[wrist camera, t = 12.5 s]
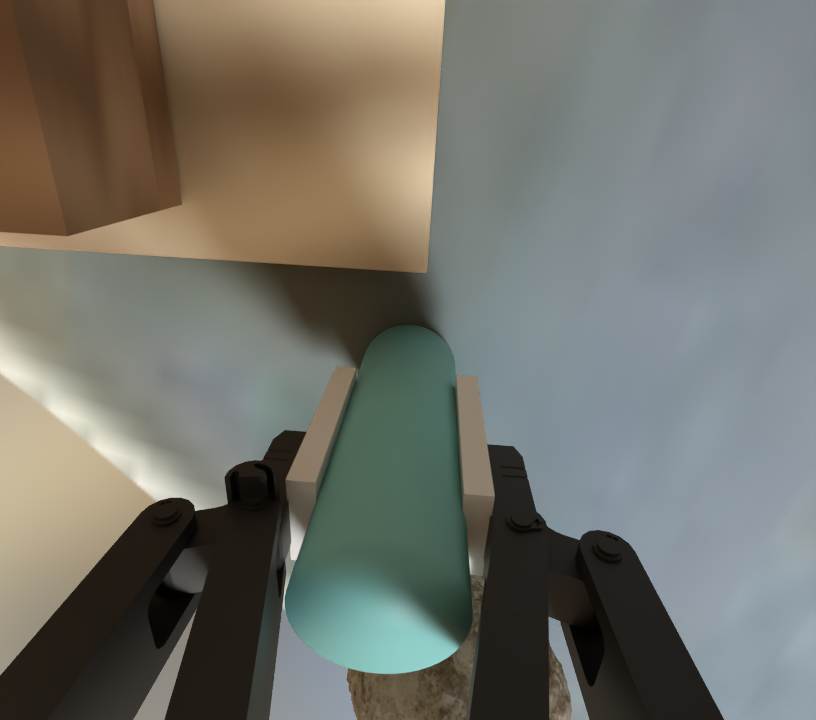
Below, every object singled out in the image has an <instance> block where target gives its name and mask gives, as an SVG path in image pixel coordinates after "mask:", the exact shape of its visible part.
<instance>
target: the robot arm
mask: <svg viewBox="0 0 816 720" xmlns="http://www.w3.org/2000/svg"><path fill="white" fill-rule="evenodd" d="M355 383H356V368H352V367H338V366H336V367H335V370H334V372H333V374H332V376H331V379H330V381H329V383H328V385H327V388H326V390H325V392H324V394H323V397H322V399H321V401H320V403H319V406H318V408H317V410H316V412H315V415H314V417H313V419H312V421H311V424H310V426H309V428H308V430H307V432H301V431H287V430H285V431H283V432H282V433H281V434H280V435H278V436H277V437H276V438H274V439H273V441H272V443H271V445H270V447H269V449H268V451H267V452H266V454H265V456H264V459H263V460H262V461H257V460H255V461H248V462H244V463H241V464H239V465H236V466H235V467H233V468H232V469H231V470H229V471H228V473H227V474H226V476H225V485H226V492H227V499H228V504H227V505H224V506H221V507H217V508H211V509H205V510H198V511H195V509H194V505H193V504H192V503H191V502H190V501H189V500H186V499H183V498H168V499H164V500H160V501H158V502H156V503H154V504H152V505H150V506H148V507H147V508H146V509H145V510H144V511H142V512H141V513H140V514H139V516H138V517H137V518H136V519H135V520H134V521H133V523H132V524H131V525H130V526H129V527H128V529H127V530H126V531H125V532H124V533H123V534H122V535H121V536H120V538H119V539H118V540H117V541H116V542H115V543H114V545H113V546H112V547H111V548H110V549H109V550H108V552H107V553H106V554H105V555H104V556H103V557H102V558H101V560H100V561H99V562H98V563H97V564H96V565H95V567H94V568H93V569H92V570H91V571H90V572H89V574H88V575H87V576H86V577H85V578H84V579H83V581H82V582H81V583H80V584H79V585H78V586H77V588H76V589H75V590H74V591H73V592H72V593H71V594H70V596H69V597H68V598H67V599H66V600H65V601H64V602H63V604H62V605H61V606H60V607H59V608H58V609H57V611H56V612H55V613H54V614H53V615H52V616H51V618H50V619H49V620H48V621H47V622H46V623H45V625H44V626H43V627H42V628H41V629H40V630H39V632H38V633H37V634H36V635H35V636H34V637H33V638H32V640H31V641H30V642H29V643H28V644H27V646H25V648H24V649H23V650H22V651H21V652H20V653H19V655H18V656H17V657H16V658H15V659H14V660H13V661H12V663H11V664H10V665H9V666H8V667H7V669H6V670H5V671H4V672H3V673H2V674H1V675H0V720H133V719H134V717H135V716H136V714H137V712H138V710H139V709H140V707H141V705H142V703H143V702H144V700H145V698H146V696H147V695H148V693H149V691H150V689H151V688H152V686H153V684H154V682H155V680H156V679H157V677H158V675H159V673H160V672H161V670H162V668H163V667H164V665H165V663H166V661H167V660H168V658H169V656H170V654H171V653H172V651H173V649H174V647H175V646H176V644H177V642H178V640H179V639H180V637H181V635H182V633H183V631H184V630H185V628H186V626H187V624H188V623H189V621H190V619H191V618H192V616H193V614H194V612H195V611H196V609H197V611H196V614H195V617H194V621H193V624H192V628H191V631H190V635H189V638H188V641H187V645H186V648H185V652H184V655H183V659H182V662H181V665H180V669H179V672H178V676H177V679H176V683H175V686H174V689H173V693H172V696H171V699H170V703H169V706H168V710H167V713H166V716H165V720H269V715H270V706H271V698H272V689H273V681H274V671H275V663H276V655H277V645H278V638H279V629H280V621H281V612H282V603H283V595H284V586H285V578H286V566H285V559H286V556H287V553H288V551H289V548H290V552H291V560H297V557H298V554H299V551H300V548H301V545H302V542H303V539H304V536H305V533H306V530H307V527H308V524H309V521H310V518H311V515H312V511H313V508H314V506H315V503H316V501H317V498H318V495H319V492H320V489H321V486H322V483H323V480H324V477H325V474H326V471H327V468H328V465H329V462H330V459H331V456H332V453H333V449H334V446H335V443H336V440H337V437H338V434H339V431H340V428H341V425H342V422H343V419H344V416H345V413H346V410H347V407H348V404H349V401H350V398H351V395H352V392H353V389H354V386H355ZM455 398H456V415H457V431H458V448H459V465H460V481H461V498H462V511H463V513H464V516H465V519H466V526H467V538H468V552H469V566H470V575H479V576H482V575H483V569H484V566H485V582H484V588H483V594H482V601H481V607H480V610H481V611H480V618H479V626H478V633H477V641H476V648H475V656H474V663H473V671H472V678H471V686H470V693H469V701H468V708H467V716H466V720H549V628H548V616H549V617H551V618H554V619H556V620H559V621H560V622H561V626H562V630H563V633H564V636H565V640H566V643H567V646H568V649H569V653H570V656H571V659H572V663H573V666H574V669H575V673H576V676H577V679H578V683H579V686H580V689H581V693H582V696H583V699H584V703H585V706H586V709H587V712H588V716H589V719H590V720H724V719H723V717H722V715H721V713H720V711H719V709H718V707H717V705H716V704H715V702H714V700H713V698H712V696H711V694H710V692H709V690H708V688H707V687H706V685H705V683H704V681H703V679H702V677H701V675H700V673H699V671H698V670H697V668H696V666H695V664H694V662H693V660H692V658H691V656H690V654H689V653H688V651H687V649H686V647H685V645H684V643H683V641H682V639H681V638H680V636H679V634H678V632H677V630H676V628H675V626H674V624H673V622H672V621H671V619H670V617H669V615H668V613H667V611H666V609H665V607H664V605H663V604H662V602H661V600H660V598H659V596H658V594H657V592H656V590H655V588H654V587H653V585H652V583H651V581H650V579H649V577H648V575H647V573H646V571H645V570H644V568H643V566H642V564H641V562H640V560H639V558H638V556H637V554H636V553H635V551H634V550H633V548H632V547H631V546H630V545H629V543H627V542H626V541H625V540H623V539H622V538H621V537H619V536H617V535H614V534H612V533H610V532H606V531H600V530H596V531H589V532H587V533H585V534H584V535H582V537H581V539H580V540H577V539H574V538H571V537H568V536H565V535H562V534H560V533H557V532H555V531H554V530H552V529H550V528H549V527H547V525H546V522H545V520H544V519H543V518H542V516H541V515H540V514H539V513H537V512H536V509H535V505H534V501H533V497H532V493H531V489H530V485H529V481H528V479H527V473H526V470H525V465H524V461H523V457H522V456H521V455H520V453H519V452H518V451H517V450H516V449H515V448H514V447H513V446H501V445H488V444H487V440H486V434H485V427H484V420H483V414H482V407H481V400H480V394H479V387H478V380H477V376H465V375H456V383H455Z"/></svg>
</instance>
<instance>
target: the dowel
mask: <svg viewBox="0 0 816 720" xmlns="http://www.w3.org/2000/svg"><path fill="white" fill-rule="evenodd" d="M455 383H456V373H455V362H454V357H453V354H452V351H451V349H450V348H449V346H448V344H447V343H446V342H445V341H444V340H443V339H442V338H441V337H440V336H439V335H438V334H436V333H435V332H433V331H431V330H430V329H427V328H425V327H421V326H417V325H399V326H395V327H391V328H389V329H386V330H385V331H383V332H381V333H380V334H379V335H377V336H376V337H375V338H374V339H373V340H372V341H371V343H370V344H369V346H368V348H367V350H366V352H365V355H364V358H363V361H362V364H361V367H360V370H359V373H358V376H357V379H356V383H355V386H354V389H353V392H352V395H351V398H350V401H349V404H348V407H347V410H346V413H345V416H344V419H343V422H342V425H341V428H340V431H339V434H338V437H337V440H336V443H335V446H334V449H333V453H332V456H331V459H330V462H329V465H328V468H327V471H326V474H325V477H324V480H323V483H322V486H321V489H320V492H319V495H318V498H317V501H316V503H315V506H314V508H313V511H312V515H311V518H310V521H309V524H308V527H307V530H306V533H305V536H304V539H303V542H302V545H301V548H300V551H299V554H298V557H297V560H296V563H295V566H294V569H293V572H292V575H291V578H290V581H289V584H288V587H287V590H286V595H285V609H286V615H287V617H288V620H289V623H290V624H291V627H292V628H293V630H294V632H295V633H296V634H297V636H298V637H299V638H300V639H301V640H302V641H303V642H304V643H305V644H306V645H307V646H308V647H309V648H311V649H312V650H313V651H314V652H316V653H317V654H319V655H320V656H322V657H324V658H326V659H328V660H329V661H332V662H334V663H336V664H338V665H341V666H344V667H347V668H350V669H353V670H358V671H363V672H369V673H378V674H399V673H407V672H413V671H417V670H421V669H424V668H427V667H430V666H433V665H435V664H437V663H439V662H441V661H443V660H444V659H446V658H448V657H449V656H450V655H452V654H453V653H454V652H456V650H457V649H458V648H459V647H460V646H461V645H462V644H463V642H464V641H465V640H466V638H467V636H468V634H469V632H470V629H471V626H472V621H473V607H472V593H471V580H470V566H469V552H468V538H467V526H466V519H465V516H464V513H463V511H462V498H461V481H460V465H459V448H458V431H457V415H456V398H455Z"/></svg>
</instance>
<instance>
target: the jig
mask: <svg viewBox="0 0 816 720" xmlns="http://www.w3.org/2000/svg"><path fill="white" fill-rule="evenodd" d="M153 2H154V9H155V16H156V23H157V30H158V37H159V44H160V51H161V58H162V65H163V72H164V79H165V87H166V94H167V101H168V108H169V115H170V122H171V129H172V136H173V143H174V150H175V157H176V164H177V172H178V179H179V186H180V193H181V200H182V205H179V206H175V207H172V208H168V209H164V210H161V211H157V212H154V213H150V214H146V215H143V216H139V217H136V218H132V219H128V220H125V221H121V222H118V223H114V224H110V225H107V226H103V227H100V228H96V229H92V230H89V231H85V232H82V233H78V234H74V235H71V236H55V235H39V234H23V233H7V232H0V246H11V247H27V248H43V249H58V250H74V251H89V252H105V253H120V254H136V255H152V256H167V257H183V258H198V259H214V260H230V261H245V262H261V263H276V264H292V265H307V266H323V267H339V268H354V269H370V270H385V271H401V272H416V273H427V265H428V251H429V236H430V221H431V206H432V191H433V176H434V161H435V147H436V132H437V117H438V102H439V87H440V72H441V57H442V43H443V28H444V13H445V0H153Z"/></svg>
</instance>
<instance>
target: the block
mask: <svg viewBox="0 0 816 720" xmlns="http://www.w3.org/2000/svg"><path fill="white" fill-rule="evenodd" d="M179 205H182V200H181V193H180V186H179V179H178V172H177V164H176V157H175V150H174V143H173V136H172V129H171V122H170V115H169V108H168V101H167V94H166V87H165V79H164V72H163V65H162V58H161V51H160V44H159V37H158V30H157V23H156V16H155V9H154V2H153V0H0V232H7V233H23V234H39V235H55V236H71V235H74V234H78V233H82V232H85V231H89V230H92V229H96V228H100V227H103V226H107V225H110V224H114V223H118V222H121V221H125V220H128V219H132V218H136V217H139V216H143V215H146V214H150V213H154V212H157V211H161V210H164V209H168V208H172V207H175V206H179Z"/></svg>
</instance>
